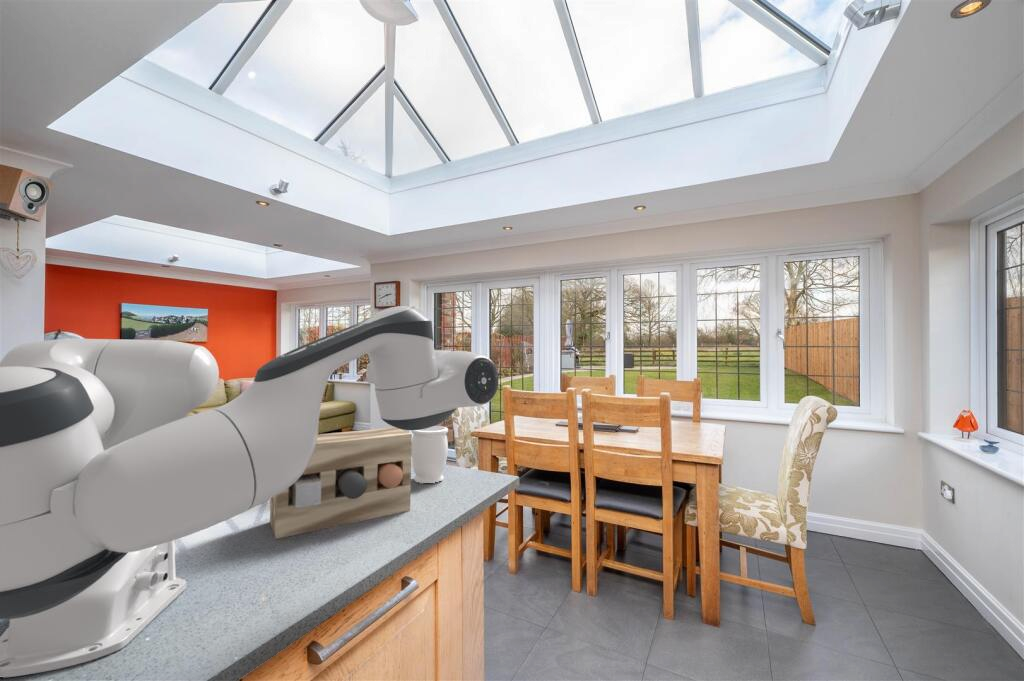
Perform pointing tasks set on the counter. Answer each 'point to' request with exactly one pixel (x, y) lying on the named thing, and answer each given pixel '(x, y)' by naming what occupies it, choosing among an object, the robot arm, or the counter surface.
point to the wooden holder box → (328, 464)
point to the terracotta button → (389, 474)
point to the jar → (429, 453)
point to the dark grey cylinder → (351, 483)
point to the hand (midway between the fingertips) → (407, 370)
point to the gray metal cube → (306, 491)
